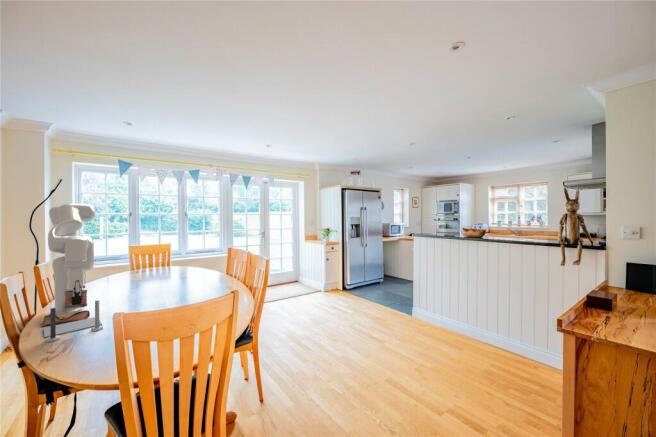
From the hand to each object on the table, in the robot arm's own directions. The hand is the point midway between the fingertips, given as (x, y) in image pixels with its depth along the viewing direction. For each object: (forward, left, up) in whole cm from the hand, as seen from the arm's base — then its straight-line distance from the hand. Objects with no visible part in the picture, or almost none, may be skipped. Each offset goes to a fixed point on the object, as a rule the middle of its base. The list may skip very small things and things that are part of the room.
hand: (75, 302), depth 126 cm
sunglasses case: (-24, -2, -15) cm, 28 cm away
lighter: (0, 0, -2) cm, 2 cm away
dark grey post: (+1, -7, -15) cm, 16 cm away
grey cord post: (+1, +8, -15) cm, 16 cm away
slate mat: (-11, 0, -15) cm, 19 cm away
